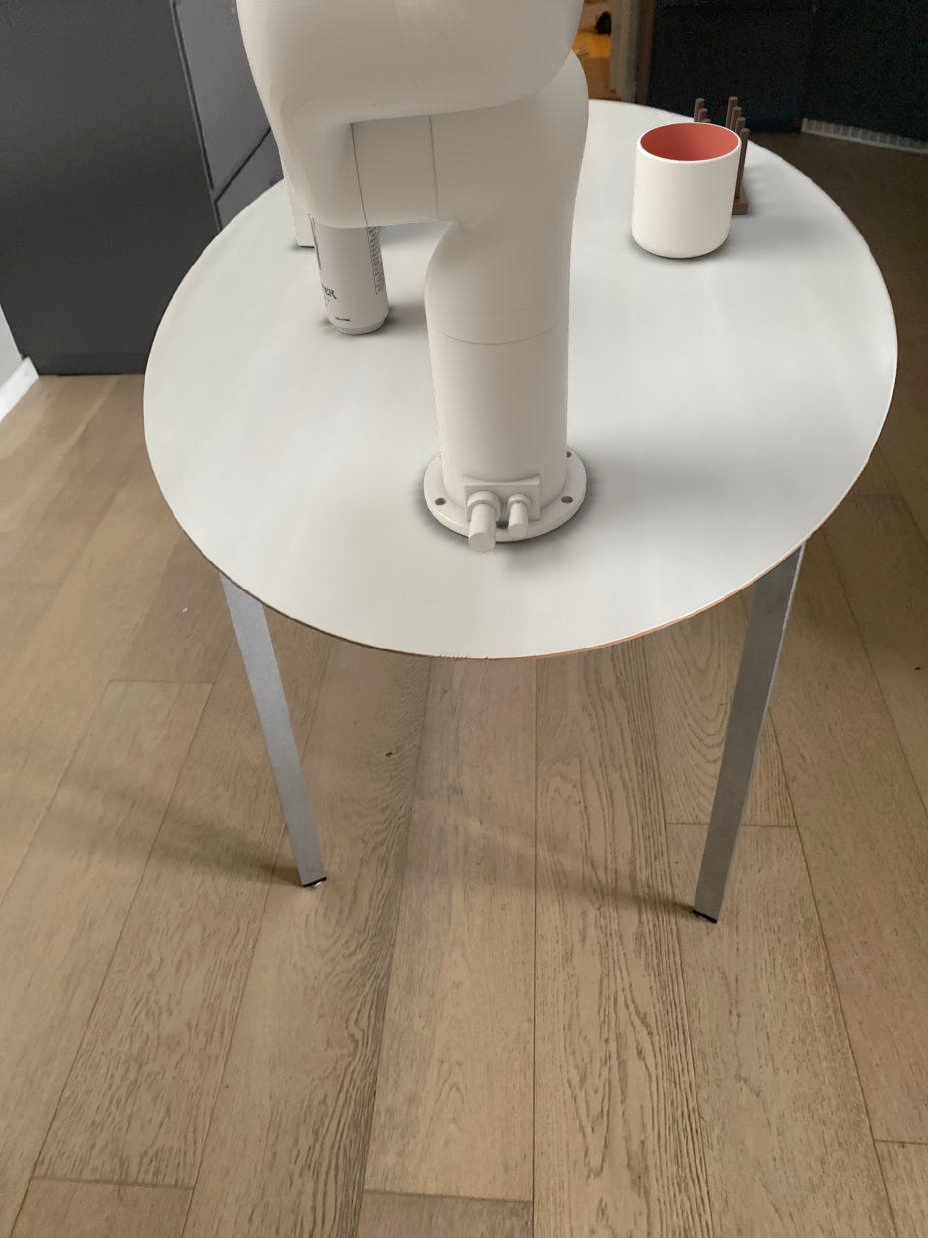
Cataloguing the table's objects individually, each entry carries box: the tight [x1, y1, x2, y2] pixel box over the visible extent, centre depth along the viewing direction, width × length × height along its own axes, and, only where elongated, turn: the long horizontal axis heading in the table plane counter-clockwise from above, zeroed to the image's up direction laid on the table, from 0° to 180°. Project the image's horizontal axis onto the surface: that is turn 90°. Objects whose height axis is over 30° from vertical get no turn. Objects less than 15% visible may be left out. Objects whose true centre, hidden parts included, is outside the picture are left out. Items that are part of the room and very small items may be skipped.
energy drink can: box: [308, 213, 390, 335], centre depth 88 cm, size 6×6×15 cm
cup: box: [631, 121, 741, 259], centre depth 96 cm, size 10×10×10 cm
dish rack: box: [693, 96, 750, 215], centre depth 105 cm, size 12×6×8 cm, turn 177°
